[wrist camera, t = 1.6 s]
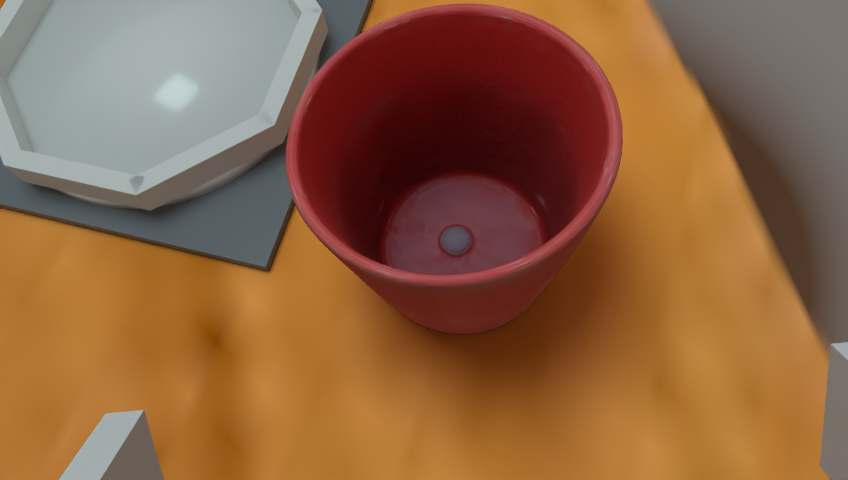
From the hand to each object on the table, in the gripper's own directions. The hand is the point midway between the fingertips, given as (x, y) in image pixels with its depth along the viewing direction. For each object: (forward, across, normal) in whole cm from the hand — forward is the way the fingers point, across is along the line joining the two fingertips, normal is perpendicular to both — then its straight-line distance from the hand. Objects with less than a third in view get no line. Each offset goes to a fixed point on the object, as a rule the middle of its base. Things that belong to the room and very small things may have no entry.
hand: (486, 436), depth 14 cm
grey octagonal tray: (+26, -14, +5) cm, 30 cm away
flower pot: (+18, 0, -3) cm, 19 cm away
